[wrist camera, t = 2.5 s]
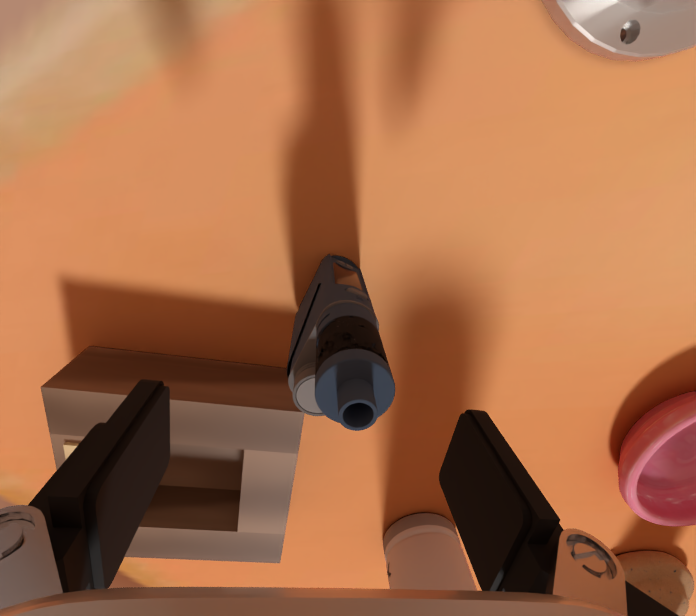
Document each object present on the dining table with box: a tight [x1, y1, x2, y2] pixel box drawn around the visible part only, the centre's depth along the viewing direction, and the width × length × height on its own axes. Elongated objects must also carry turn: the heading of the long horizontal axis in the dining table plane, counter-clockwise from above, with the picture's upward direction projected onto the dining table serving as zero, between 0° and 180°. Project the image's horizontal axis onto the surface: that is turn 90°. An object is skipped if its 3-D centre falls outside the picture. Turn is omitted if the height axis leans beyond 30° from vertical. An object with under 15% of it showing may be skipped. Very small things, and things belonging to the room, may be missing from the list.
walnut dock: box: [41, 346, 304, 563], centre depth 23 cm, size 13×13×4 cm
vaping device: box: [287, 254, 395, 431], centre depth 15 cm, size 3×5×12 cm, turn 153°
